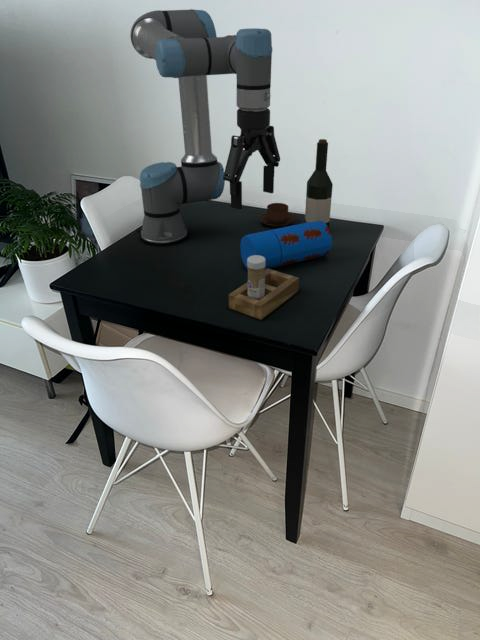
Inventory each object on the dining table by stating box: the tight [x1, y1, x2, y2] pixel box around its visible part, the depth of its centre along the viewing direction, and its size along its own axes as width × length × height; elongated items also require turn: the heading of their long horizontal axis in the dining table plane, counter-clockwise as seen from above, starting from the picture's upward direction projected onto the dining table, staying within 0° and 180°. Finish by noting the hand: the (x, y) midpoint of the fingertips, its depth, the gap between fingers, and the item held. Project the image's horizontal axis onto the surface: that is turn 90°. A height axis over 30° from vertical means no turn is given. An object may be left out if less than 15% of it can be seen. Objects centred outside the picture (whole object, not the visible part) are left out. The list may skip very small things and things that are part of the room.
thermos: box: [239, 221, 333, 271], centre depth 149 cm, size 11×11×25 cm
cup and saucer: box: [259, 202, 295, 228], centre depth 177 cm, size 12×12×6 cm
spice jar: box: [247, 255, 266, 300], centre depth 127 cm, size 5×5×13 cm
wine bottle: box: [304, 138, 334, 229], centre depth 164 cm, size 8×8×30 cm
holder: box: [228, 268, 300, 321], centre depth 133 cm, size 10×18×4 cm, turn 144°
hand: (252, 200), depth 125 cm, fingers open, 13 cm apart
